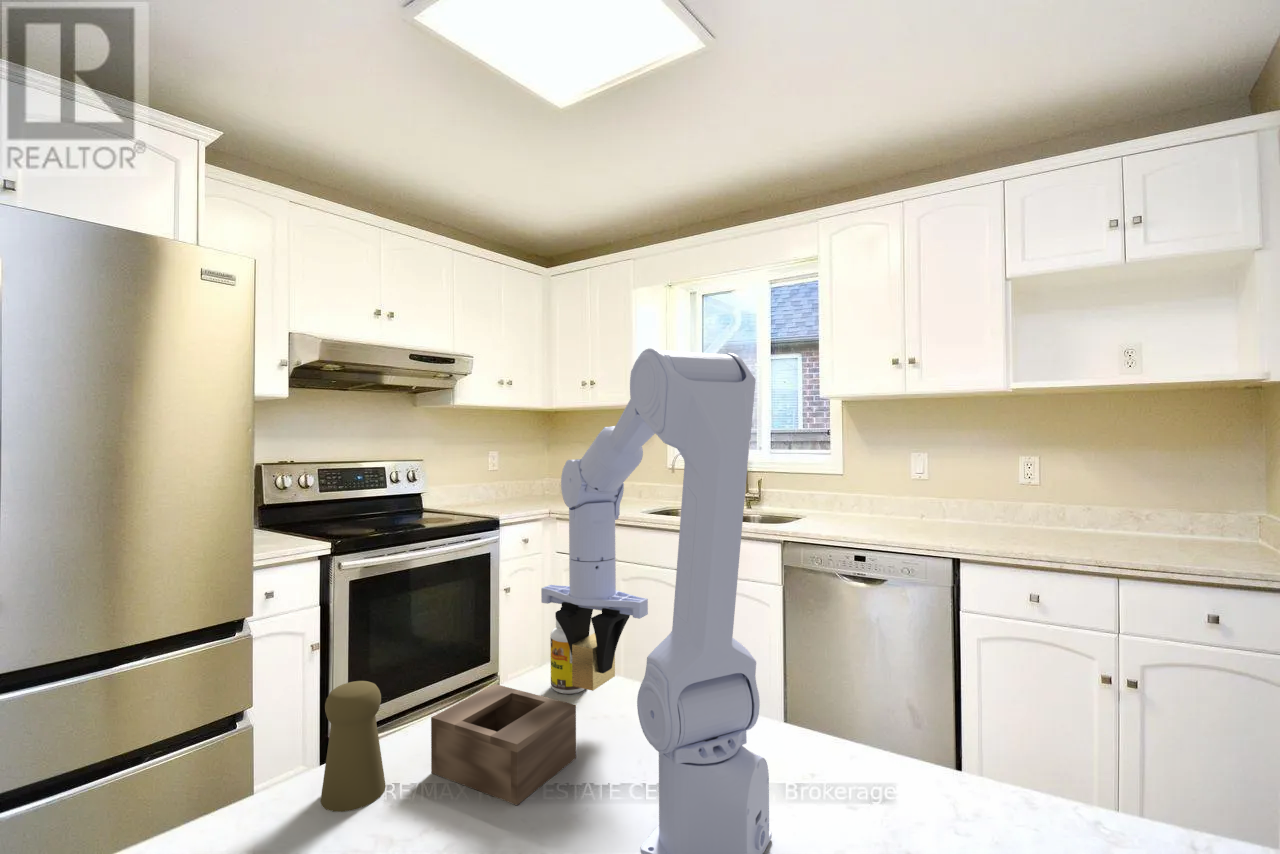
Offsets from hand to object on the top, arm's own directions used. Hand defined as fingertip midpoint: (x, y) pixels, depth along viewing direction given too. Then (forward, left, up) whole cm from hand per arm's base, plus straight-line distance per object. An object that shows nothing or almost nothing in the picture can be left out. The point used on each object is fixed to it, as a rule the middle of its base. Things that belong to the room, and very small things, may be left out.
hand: (593, 667), depth 76 cm
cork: (+14, +23, -8) cm, 28 cm away
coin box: (+4, +11, -8) cm, 14 cm away
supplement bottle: (+10, -9, -8) cm, 16 cm away
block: (0, 0, -2) cm, 2 cm away
